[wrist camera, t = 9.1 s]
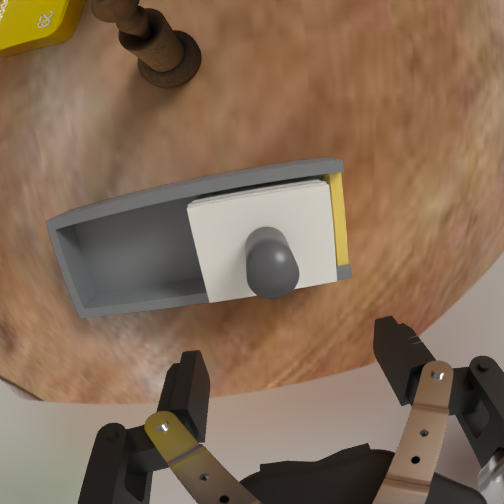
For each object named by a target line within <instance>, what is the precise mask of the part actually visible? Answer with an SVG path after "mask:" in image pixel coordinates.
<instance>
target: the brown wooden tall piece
mask: <svg viewBox="0 0 504 504" xmlns="http://www.w3.org/2000/svg"><path fill="white" fill-rule="evenodd" d="M138 4H139V0H92V2H91V9H92V12H93V14H94V16H95V17H96V18H97V19H99V20H101V21H103V22H108V23H113V22H116V25H117V27H118V29H119V35H118V37H119V41H120V43H121V45H122V46H123V47H124V48H125V49H127V50H128V51H130V52H131V53H133V54H134V55H136V56H137V57H138V69H139V71H140V73H141V75H142V76H143V77H144V78H145V79H146V80H147V81H149V82H150V83H151V84H153V85H155V86H158V87H162V88H172V87H177V86H180V85H182V84H184V83H186V82H188V81H189V80H190V79H191V78H193V76H194V75H195V74H196V73H197V71H198V69H199V67H200V64H201V51H200V49H199V47H198V45H197V43H196V41H195V40H194V39H193V38H192V37H191V36H190V35H188V34H187V33H184V32H182V31H176V30H172V28H171V27H170V25H169V24H168V22H167V21H166V19H165V17H164V16H163V14H162V13H161V12H159V11H158V10H155V9H151V8H145V9H144V8H143V7H141V6H138Z"/></svg>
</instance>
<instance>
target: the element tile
mask: <svg viewBox="0 0 504 504" xmlns="http://www.w3.org/2000/svg"><path fill="white" fill-rule="evenodd" d="M85 1H86V0H1V3H0V56H3V57H8V56H11V55H15V54H18V53H22V52H26V51H30V50H34V49H38V48H43V47H47V46H52V45H57V44H62V43H64V42H66V41H67V40H69V39H70V38H71V37H72V35H73V34H74V32H75V30H76V28H77V25H78V22H79V19H80V16H81V13H82V10H83V7H84V4H85Z"/></svg>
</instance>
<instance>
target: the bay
mask: <svg viewBox="0 0 504 504" xmlns="http://www.w3.org/2000/svg"><path fill="white" fill-rule="evenodd" d="M341 172H344V169H343V161H342V159H337V158H332V157H323V158H315V159H307V160H299V161H292V162H285V163H278V164H272V165H265V166H259V167H253V168H247V169H241V170H236V171H230V172H225V173H219V174H214V175H209V176H204V177H199V178H194V179H190V180H185V181H180V182H176V183H171V184H167V185H162V186H158V187H154V188H150V189H146V190H141V191H137V192H133V193H130V194H126V195H122V196H118V197H114V198H111V199H107V200H103V201H100V202H96V203H93V204H89V205H86V206H82V207H79V208H76V209H72V210H69V211H66V212H64V213H62V214H60V215H58V216H56V217H54V218H52V219H49V220H47V221H45V222H46V226H47V229H48V233H49V236H50V239H51V242H52V246H53V249H54V252H55V255H56V258H57V261H58V264H59V266H60V269H61V272H62V275H63V277H64V280H65V283H66V285H67V288H68V290H69V293H70V295H71V298H72V300H73V303H74V305H75V307H76V310H77V312H78V314H79V317H80V318H87V317H97V316H107V315H116V314H124V313H133V312H141V311H149V310H157V309H165V308H173V307H180V306H187V305H194V304H201V303H208V302H209V298H208V295H207V291H206V287H205V283H204V279H203V275H202V271H201V267H200V263H199V259H198V255H197V251H196V247H195V243H194V238H193V234H192V230H191V226H190V221H189V217H188V212H187V208H188V204H189V203H192V202H193V201H194V199H195V198H196V197H197V196H198V195H200V194H205V193H211V192H216V191H221V190H226V189H232V188H238V187H243V186H249V185H255V184H261V183H267V182H273V181H280V180H286V179H293V178H300V177H307V176H312V177H314V178H316V179H318V180H320V181H326V183H327V184H328V185H329V190H330V199H331V209H332V219H333V230H334V242H335V256H336V271H337V280H343V279H348V278H352V276H351V267H350V265H349V264H348V250H347V234H346V220H345V209H344V198H343V188H342V179H341Z"/></svg>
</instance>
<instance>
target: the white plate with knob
mask: <svg viewBox="0 0 504 504" xmlns="http://www.w3.org/2000/svg"><path fill="white" fill-rule="evenodd" d="M187 212H188V217H189V221H190V226H191V230H192V234H193V238H194V243H195V247H196V251H197V255H198V259H199V263H200V267H201V271H202V275H203V279H204V283H205V287H206V291H207V295H208V298H209V302H210V303H213V302H219V301H226V300H232V299H239V298H245V297H251V296H257V295H258V296H260V297H262V298H265V299H279V298H282V297H284V296H286V295H288V294H289V293H291V292H292V291H293V290H294V289H298V288H304V287H309V286H314V285H320V284H325V283H330V282H336V281H337V271H336V256H335V242H334V230H333V219H332V209H331V199H330V190H329V185H328V184H327V183H326V181H320V180H318V179H316V178H314V177H312V176H307V177H300V178H293V179H286V180H280V181H273V182H267V183H261V184H255V185H249V186H243V187H238V188H232V189H226V190H221V191H216V192H211V193H205V194H200V195H198V196H197V197H196V198H195V199H194V201H193V202H192V203H189V204H188V208H187Z"/></svg>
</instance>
